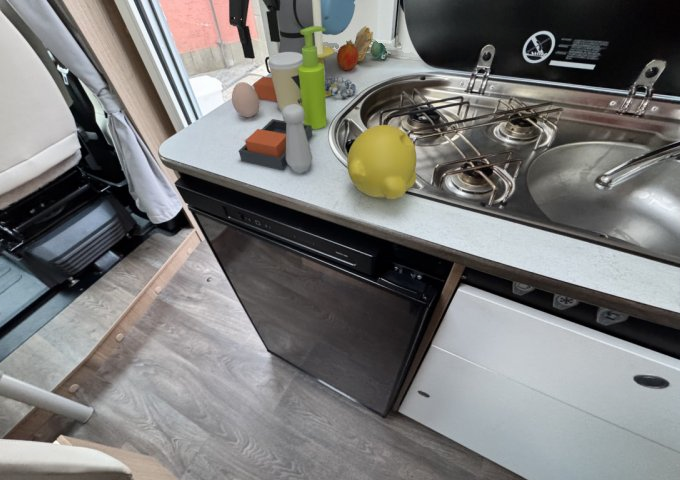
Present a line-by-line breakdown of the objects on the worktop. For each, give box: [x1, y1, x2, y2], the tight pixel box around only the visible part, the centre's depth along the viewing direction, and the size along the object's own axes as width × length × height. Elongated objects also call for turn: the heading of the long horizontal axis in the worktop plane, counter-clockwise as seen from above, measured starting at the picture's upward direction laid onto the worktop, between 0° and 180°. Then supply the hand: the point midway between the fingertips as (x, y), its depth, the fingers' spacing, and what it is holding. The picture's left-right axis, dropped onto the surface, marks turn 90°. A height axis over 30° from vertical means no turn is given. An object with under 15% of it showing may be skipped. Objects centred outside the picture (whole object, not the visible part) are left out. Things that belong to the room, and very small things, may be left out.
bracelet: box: [324, 75, 357, 98], centre depth 87 cm, size 10×10×2 cm
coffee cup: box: [267, 52, 303, 112], centre depth 80 cm, size 9×9×12 cm
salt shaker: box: [281, 104, 313, 174], centre depth 61 cm, size 6×6×13 cm
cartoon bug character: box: [346, 25, 392, 62], centre depth 101 cm, size 10×18×15 cm
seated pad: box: [244, 128, 286, 157], centre depth 67 cm, size 6×8×4 cm
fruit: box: [336, 40, 359, 72], centre depth 96 cm, size 7×7×8 cm
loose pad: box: [253, 76, 277, 102], centre depth 88 cm, size 6×8×4 cm
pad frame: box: [238, 118, 313, 171], centre depth 70 cm, size 16×11×3 cm
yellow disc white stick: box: [312, 0, 339, 98], centre depth 79 cm, size 10×10×27 cm
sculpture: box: [346, 124, 418, 200], centre depth 55 cm, size 15×13×13 cm
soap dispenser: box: [298, 26, 328, 130], centre depth 70 cm, size 6×7×20 cm
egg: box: [231, 81, 261, 118], centre depth 79 cm, size 7×7×8 cm
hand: (263, 49), depth 80 cm, fingers open, 13 cm apart
